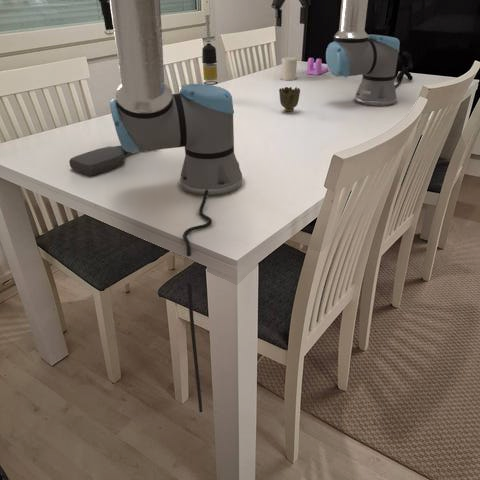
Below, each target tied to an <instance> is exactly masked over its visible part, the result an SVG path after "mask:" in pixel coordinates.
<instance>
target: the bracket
mask: <svg viewBox="0 0 480 480" xmlns="http://www.w3.org/2000/svg"><path fill="white" fill-rule="evenodd" d="M322 63H323V61H322V58H316V60H315V59H314V57H308V59H307V66H306V74H307V75H314V76H319V75H321V74H323V73H326V72H328V71H329V68H328V66H322Z"/></svg>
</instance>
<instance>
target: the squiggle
mask: <svg viewBox="0 0 480 480" xmlns="http://www.w3.org/2000/svg"><path fill="white" fill-rule="evenodd" d="M401 57H402V59H401ZM406 62H407V65H408V66H407V67H408V69H407V67H405V66H404V65H405V64H406ZM413 68H414V64H413V61H412V57H411V54H410V53H409V52H408V51H403V53H402V54H401V55H398V59H397V65H396V72H395V78H394V80H395V79H396V81H397V82H398V83H399V81H401V82H402V81H403V79H404V76H406V78H407V80H408V81H412V80H413V79H414V77H413V75H412V74H411V73H410V72H409V71H410V70H411V69H412V70H413ZM400 70H401V71H400ZM412 70H411V71H412Z"/></svg>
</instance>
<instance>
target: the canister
mask: <svg viewBox="0 0 480 480" xmlns="http://www.w3.org/2000/svg"><path fill="white" fill-rule="evenodd" d="M297 64H298V58H297V57H294V56H293V57H292V56H286V57H285V56H284V57H282V58H281V74H280V75H281V76H280V78H281V80H282V81H295V80H297V66H298V65H297Z"/></svg>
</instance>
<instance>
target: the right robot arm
mask: <svg viewBox="0 0 480 480" xmlns="http://www.w3.org/2000/svg"><path fill="white" fill-rule="evenodd" d="M285 1H286V0H273V1H272V3H271V8H273V10H274V17H275V27H280V28H282V24H283V23H282V22H283V20H282V19H283V9H281V8H282V7H283V5H284V3H285ZM298 2H299V3H300V5H301V6H300V8H299V25H306V16H307V13H308V11H307V10H308V9H307V8H309V7H310V6H311V5H312V2H311V0H298ZM368 3H369V0H341V5H340V18H339V28H338V31H337V32H336V33H335V34H334V35H333V41H331V42H330V43H329V44H328V45H327V48H326V51H325V62H326V67H328V71H329V72H330V73H331V74H332V76H334V77H336V78H337V77H338V78H348V77H353V76H354V77H355V76H362V77H361V81H360V84H359V85H358V88H357V90H356V93H355V95H354V101H355V102H356V103H358V104H360V105H364V106H371V107H387V106H392V105H395V104H396V103H397V92H396V88H397V87H399V86H400V85H401V83H402V81H399V82H398V83H396V84H395V79H396V78H395V72H396V65H397V59H398V56H399V53H400V44H401V42H400V40H399V39H398V38H397V37H394V36H388V35H380V34H368V33H367V32H366V31H365V28H366V21H367V12H368ZM406 68H407V70H408V66H407V67H406ZM412 70H413V68H412V69H411V71H412ZM394 78H395V79H394Z"/></svg>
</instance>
